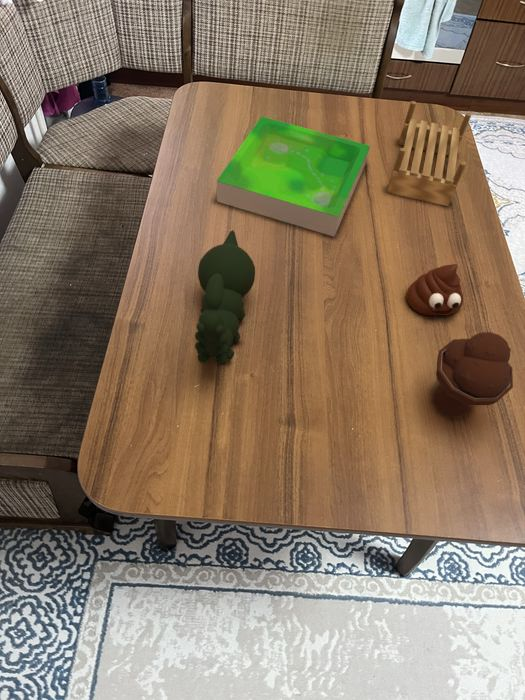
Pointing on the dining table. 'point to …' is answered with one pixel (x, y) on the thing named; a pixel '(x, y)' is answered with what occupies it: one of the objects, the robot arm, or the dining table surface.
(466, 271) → the dining table surface
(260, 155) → the green terrain map board
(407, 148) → the brown wooden slatted frame
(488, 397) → the ice cream bowl
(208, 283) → the toy figurine
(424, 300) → the poop emoji
